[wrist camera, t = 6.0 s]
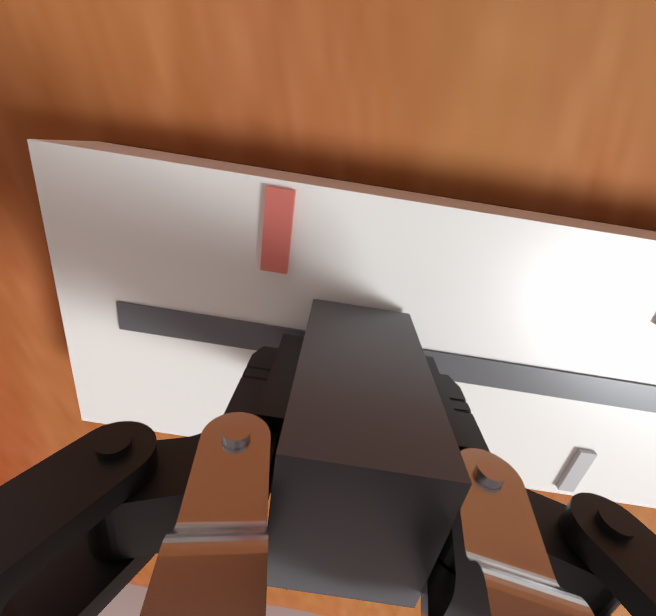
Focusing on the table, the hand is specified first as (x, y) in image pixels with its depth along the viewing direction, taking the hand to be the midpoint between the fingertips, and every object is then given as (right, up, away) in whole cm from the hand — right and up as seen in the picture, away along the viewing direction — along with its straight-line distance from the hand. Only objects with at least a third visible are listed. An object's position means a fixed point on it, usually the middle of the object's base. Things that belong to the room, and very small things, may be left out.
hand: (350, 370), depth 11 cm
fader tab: (0, 0, +1) cm, 1 cm away
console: (+2, +1, +4) cm, 5 cm away
